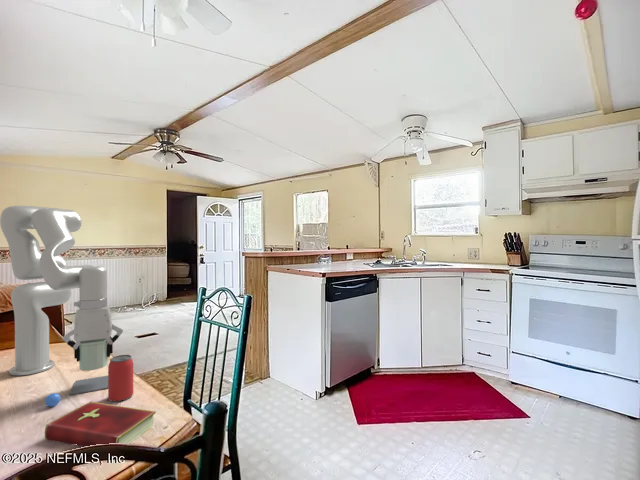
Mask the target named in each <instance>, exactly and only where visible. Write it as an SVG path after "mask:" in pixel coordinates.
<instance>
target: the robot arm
mask: <svg viewBox="0 0 640 480" xmlns="http://www.w3.org/2000/svg"><path fill="white" fill-rule="evenodd" d="M81 227H82V218H81V217H80V214H78V212H76V211H75V210H73V209H63V208H56V207H47V206H45V207H43V206H32V205H11V206H8V207H6V208H4V209H3V210H2V211H1V214H0V229H1V231H2V234H3V235H4V237H5V239H6V242H7V244H8V249H9V255H10V256H9V257H10V263H11V267H12V273H13V275H14V277H15V279H17V280H19V281H20V280H21V281H30V280H31V281H32V280H43V279H44V281H39V282H38V281H36V282H29V283H24V284H20V285H18V286H16V287H15V288H14V289H13V290H12V292H11V294H10V299H11V304H12V308H13V309H12V310H13V315H14V366H12V367H11V368H9V370H8V374H9V375H11V376H17V377H18V376H28V375H34V374H38V373H41V372H45V371H47V370H49V369H51V368H53V367H54V366H55V361H54V360H52V359H50V319H49V316H48V314H46V312H44V311H43V310H42V308H46V307H54V306H60V305H63V304H66V303H67V302H69V300H70V299H71V294H72V290H73V289H78V290H79V294H78V295H79V300H78V301H75V302H73V306H74V307H77V308H78V309H77V310H76V312H75V316H74V326H73V327H74V328H73V329H71V330H70V331H69V332H67V333H66V334H64V335H63V337H62V340H63V341H64V342H65V343H66V344H67V345H68V346H69V347H71V348H72V349H73V352H74V353H73V354H74V359H76V362H79V361H80V352H79V345H80V343H81V342H85V341H93V340H101V339H106V341H107V342H108V345H107V357H108V358H110V357H111V354H113V352H114V350H113V345H114V343H115V342H116V341H117V340H118V339H119V338H120V336H121V335H122V333H123V332H124V329H122V328H121V327H120V326H117V325H114V324H113V321H112V320H113V319H112V313H111V308H110V306H108V270H107V268H106V267H104V266H99V265H98V266H93V265H89V264H85V265H82V264H81V265H69V266H67V265H68V264H67V262H66V259H65V258H64V257H63V256H62V255H61V254H63V253H66V252H68V251H70V250H71V249H72V248H73V247H74V246H75V244H76V239H75V237H74V236H73V234H72V233H74V232H75V233H76V232H79V230H80V229H81ZM28 230H35V231H36V232H37V234H38V236H39V238H40V240H41V242H42V244H43V246H44V247H45V249H44V250H43V251H42V250H41V247H40V243H39V240H38V239H37V237H36V236H34V234H32V233H31V232H30V231H28ZM41 251H42V252H41ZM113 331H114V332H116V333H115V334H114V335H113V337H112V333H113ZM71 336H73V339H71V338H70V337H71Z"/></svg>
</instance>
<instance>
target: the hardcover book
mask: <svg viewBox="0 0 640 480" xmlns="http://www.w3.org/2000/svg"><path fill="white" fill-rule="evenodd" d="M156 413H157V411H155V410H154V411H153V410H147V409H140V408H135V407H128V406H121V405H115V404H107V403H102V402H96V401H89V402H87V403H85V404H83V405H81V406H79V407H77V408H75V409H74V410H71V411H69V412H68V413H66V414H63V416H60V417H59V418H56V419H55V420H52V421H51V422H48V423H46V425H45V429H44V437H45V440H46V441H51V442H56V443H62V444H68V445H71V444H77V445H78V446H77V447H82V448H85V447H84V446H90V445H96V444H109V443H125V444H128V445H129V444H131V443H132V442H133V441H135V440H136V439H137V438H139V437H140V436H142V435H143V434H145V433H146V432H147V431H148V430H149V429H151V428H152V427H154V415H155V414H156Z"/></svg>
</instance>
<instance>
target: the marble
mask: <svg viewBox="0 0 640 480" xmlns="http://www.w3.org/2000/svg"><path fill="white" fill-rule="evenodd" d="M60 401H61V395H60V393H56V392H53V393H50V394H48V395H47V396H46V397H45V400H44V404H45V405H46V406H47V407H55V406H57V405H58V404H59V403H60Z"/></svg>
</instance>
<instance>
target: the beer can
mask: <svg viewBox="0 0 640 480" xmlns="http://www.w3.org/2000/svg"><path fill="white" fill-rule="evenodd" d="M132 358H133V357H132V355H131V354H120V355H116V356H113V357H111V358H110V361H109V362H108V365H107V366H108V369H107V370H108V371H107V376H108V391H107V392H108V393H107V395H108V396H107V398H108V401H111V402H115V403H116V402H121V401H122V400H123V401H125V399H126V400H127V399H130V398H131V397H132V396H133V395H134V362H133V361H134V360H133V359H132Z"/></svg>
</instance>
